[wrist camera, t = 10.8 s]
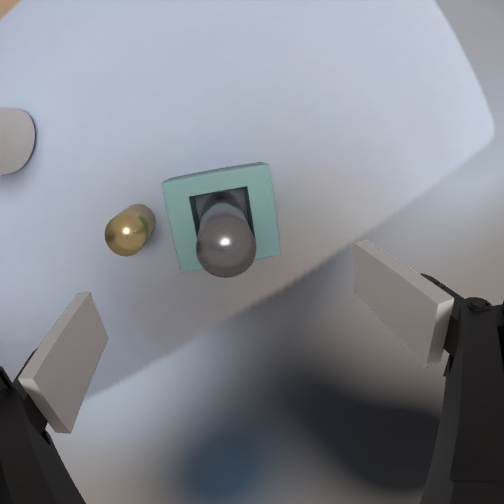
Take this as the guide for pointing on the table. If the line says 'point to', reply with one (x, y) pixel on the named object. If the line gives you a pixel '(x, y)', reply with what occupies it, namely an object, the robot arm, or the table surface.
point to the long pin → (224, 237)
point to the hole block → (247, 176)
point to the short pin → (130, 230)
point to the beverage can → (15, 139)
